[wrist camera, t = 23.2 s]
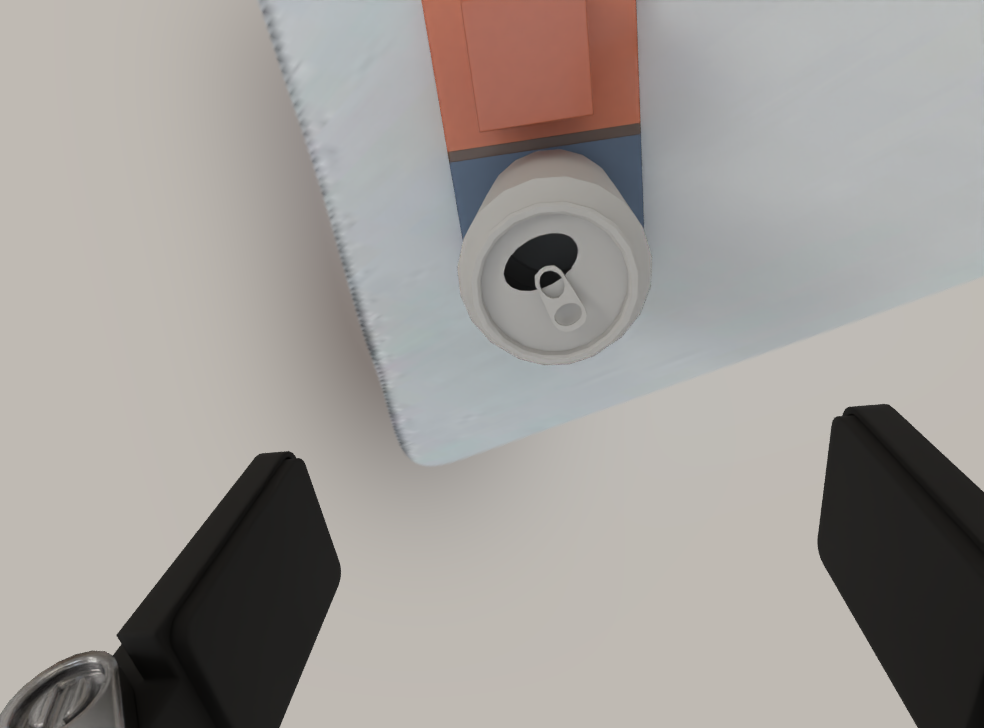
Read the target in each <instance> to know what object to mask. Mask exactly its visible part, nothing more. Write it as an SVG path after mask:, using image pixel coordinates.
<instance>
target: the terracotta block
mask: <svg viewBox="0 0 984 728" xmlns="http://www.w3.org/2000/svg"><path fill="white" fill-rule="evenodd" d="M460 6H461V13H462V20H463V27H464V34H465V40H466V47H467V54H468V61H469V67H470V74H471V81H472V88H473V95H474V101H475V108H476V115H477V122H478V129H479V132H480V133H482V132H489V131H495V130H502V129H508V128H515V127H521V126H527V125H534V124H540V123H547V122H553V121H560V120H566V119H573V118H579V117H585V116H592V115H594V105H593V90H592V75H591V60H590V45H589V30H588V15H587V0H461V1H460Z"/></svg>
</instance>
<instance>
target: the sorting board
mask: <svg viewBox="0 0 984 728" xmlns="http://www.w3.org/2000/svg"><path fill="white" fill-rule="evenodd" d="M460 1H461V0H422V5H423V11H424V17H425V23H426V29H427V35H428V40H429V46H430V52H431V58H432V64H433V70H434V75H435V81H436V87H437V93H438V99H439V105H440V110H441V116H442V122H443V128H444V134H445V140H446V145H447V151H448V157H449V163H450V169H451V175H452V180H453V186H454V192H455V198H456V204H457V210H458V215H459V221H460V227H461V233H462V239H464V237H465V235H466V233H467V231H468V229H469V227H470V226H471V224H472V222H473V220H474V218H475V216H476V214H477V212H478V211H479V209H480V207H481V205H482V203H483V201H484V199H485V197H486V195H487V194H488V192H489V190H490V189H491V187H492V185H493V184H494V182H495V180H496V179H497V177H498V175H499V174H500V173H502V172H503V171H504V170H505V169H506V168H507V167H508V166H510V165H511V164H512V163H513V162H514V161H515V160H517V159H519V158H522V157H524V156H526V155H529V154H531V153H534V152H536V151H542V150H556V149H562V150H566V151H570V152H573V153H577V154H581V155H584V156H585V157H587V158H588V159H590V160H591V161H592V162H594V163H595V164H597V165H598V166H600V167H601V168H602V169H603V170H604V171H605V173H606V174H607V175H608V177H609V178H610V180H611V181H612V182H613V184H614V185H615V186H616V188H617V189H618V191H619V192H620V194H621V195H622V197H623V198H624V200H625V201H626V203H627V204H628V206H629V207H630V209H631V210H632V212H633V213H634V215H635V216H636V218H637V219H638V221H639V222H640V224H641V225H642V227H643V229H644V215H643V186H642V157H641V128H640V100H639V71H638V42H637V14H636V0H587V15H588V30H589V45H590V60H591V75H592V90H593V105H594V115H592V116H585V117H579V118H573V119H566V120H560V121H553V122H547V123H540V124H534V125H527V126H521V127H515V128H508V129H502V130H495V131H489V132H482V133H480V132H479V129H478V122H477V115H476V108H475V101H474V95H473V88H472V81H471V74H470V67H469V61H468V54H467V47H466V40H465V34H464V27H463V20H462V13H461V6H460Z"/></svg>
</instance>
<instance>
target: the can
mask: <svg viewBox="0 0 984 728" xmlns="http://www.w3.org/2000/svg"><path fill="white" fill-rule="evenodd" d="M651 267H652V255H651V252H650V249H649V246H648V242H647V239H646V236H645V232H644V229H643V227H642V225H641V224H640V222H639V221H638V219H637V218H636V216H635V215H634V213H633V212H632V210H631V209H630V207H629V206H628V204H627V203H626V201H625V200H624V198H623V197H622V195H621V194H620V192H619V191H618V189H617V188H616V186H615V185H614V184H613V182H612V181H611V180H610V178H609V177H608V175H607V174H606V173H605V171H604V170H603V169H602V168H601V167H600V166H598V165H597V164H595V163H594V162H592V161H591V160H590V159H588V158H587V157H585V156H584V155H581V154H577V153H573V152H570V151H566V150H562V149H556V150H542V151H536V152H534V153H531V154H529V155H526V156H524V157H522V158H519V159H517V160H515V161H514V162H513V163H512V164H511V165H510V166H508V167H507V168H506V169H505V170H504V171H503V172H502V173H500V174H499V175H498V177H497V179H496V180H495V182H494V184H493V185H492V187H491V189H490V190H489V192H488V194H487V195H486V197H485V199H484V201H483V203H482V205H481V207H480V209H479V211H478V212H477V214H476V216H475V218H474V220H473V222H472V224H471V226H470V227H469V229H468V231H467V233H466V235H465V237H464V239H463V244H462V248H461V253H460V258H459V262H458V267H457V268H458V277H459V286H460V296H461V298H462V300H463V302H464V305H465V307H466V309H467V311H468V313H469V316H470V318H471V320H472V322H473V323H474V324H475V325H476V326H477V327H478V328H479V330H480V331H481V332H482V333H483V334H484V335H485V336H486V337H487V338H488V339H489V341H490V342H492V343H493V344H495V345H497V346H498V347H500V348H502V349H503V350H505V351H507V352H508V353H510V354H512V355H513V356H515V357H517V358H519V359H522V360H526V361H529V362H533V363H537V364H541V365H562V364H571V363H574V362H578V361H581V360H584V359H587V358H590V357H593V356H595V355H596V354H598V353H599V352H601V351H602V350H603V349H605V348H606V347H608V346H609V345H611V344H612V343H614V342H615V341H617V340H618V339H620V338H621V337H622V336H623V335H624V334H625V332H626V331H627V330H628V329H629V327H630V326H631V325H632V324H633V322H634V321H635V320H636V319H637V317H638V316H639V315H640V313H641V310H642V308H643V305H644V303H645V300H646V297H647V295H648V292H649V290H650V287H651Z"/></svg>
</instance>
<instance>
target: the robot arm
mask: <svg viewBox="0 0 984 728" xmlns="http://www.w3.org/2000/svg"><path fill="white" fill-rule="evenodd" d="M818 550H819V555H820V558H821V560H822V562H823V564H824V566H825V568H826V570H827V571H828V573H829V575H830V576H831V578H832V580H833V582H834V583H835V585H836V587H837V589H838V590H839V592H840V594H841V596H842V597H843V599H844V601H845V602H846V604H847V606H848V608H849V609H850V611H851V613H852V615H853V616H854V618H855V620H856V621H857V623H858V625H859V627H860V628H861V630H862V632H863V634H864V635H865V637H866V639H867V641H868V642H869V644H870V646H871V647H872V649H873V651H874V652H875V654H876V656H877V658H878V660H879V661H880V663H881V665H882V666H883V668H884V670H885V672H886V673H887V675H888V677H889V678H890V680H891V682H892V684H893V686H894V687H895V689H896V691H897V692H898V694H899V696H900V697H901V699H902V701H903V703H904V704H905V706H906V708H907V710H908V711H909V713H910V715H911V717H912V718H913V720H914V722H915V724H916V725H917V727H918V728H984V492H983V491H982V490H981V489H980V488H979V487H978V486H976V485H975V484H974V483H973V482H972V481H971V480H970V479H969V478H968V477H967V476H966V475H965V474H964V473H963V472H961V471H960V470H959V469H958V468H957V467H956V466H955V465H954V464H953V463H952V462H951V461H950V460H949V459H948V458H946V457H945V456H944V455H943V454H942V453H941V452H940V451H939V450H938V449H937V448H936V447H935V446H933V445H932V444H931V443H930V442H929V441H928V440H927V439H926V438H925V437H924V436H923V435H922V434H921V433H920V432H918V431H917V430H916V429H915V428H914V427H913V426H912V425H911V424H910V423H909V422H908V421H907V420H906V419H904V418H903V417H902V416H901V415H900V414H899V413H898V412H897V411H896V410H895V409H894V408H892V407H891V406H890V405H887V404H880V405H866V406H855V407H848V408H846V409H845V411H844V413H843V416H838V417H836V418H834V420H833V422H832V427H831V435H830V443H829V451H828V459H827V468H826V476H825V483H824V491H823V500H822V508H821V516H820V525H819V532H818ZM340 577H341V568H340V563H339V560H338V557H337V554H336V551H335V548H334V545H333V543H332V540H331V537H330V534H329V531H328V528H327V525H326V522H325V520H324V517H323V514H322V511H321V508H320V505H319V502H318V499H317V497H316V494H315V491H314V488H313V485H312V482H311V479H310V476H309V474H308V471H307V468H306V465H305V463H304V461H303V460H302V459H300V458H296V457H295V455H294V454H293V453H291V452H289V451H288V452H274V453H262V454H259V455H258V456H256V457H255V458H254V460H253V461H252V462H251V464H250V465H249V466H248V468H247V469H246V470H245V471H244V473H243V474H242V475H241V476H240V478H239V479H238V480H237V481H236V483H235V484H234V485H233V487H232V488H231V489H230V490H229V492H228V493H227V494H226V496H225V497H224V498H223V500H222V501H221V502H220V503H219V504H218V506H217V507H216V508H215V510H214V511H213V512H212V513H211V515H210V516H209V517H208V519H207V520H206V521H205V522H204V524H203V525H202V526H201V528H200V529H199V530H198V531H197V533H196V534H195V535H194V537H193V538H192V539H191V540H190V542H189V543H188V544H187V545H186V547H185V548H184V549H183V551H182V552H181V553H180V554H179V556H178V557H177V558H176V560H175V561H174V562H173V563H172V565H171V566H170V567H169V568H168V570H167V571H166V572H165V574H164V575H163V576H162V578H161V579H160V580H159V581H158V583H157V584H156V585H155V587H154V588H153V589H152V590H151V592H150V593H149V594H148V595H147V597H146V598H145V599H144V600H143V602H142V603H141V604H140V606H139V607H138V608H137V609H136V611H135V612H134V613H133V615H132V616H131V617H130V618H129V620H128V621H127V622H126V624H125V625H124V626H123V628H122V629H121V630H120V631H119V633H118V634H117V637H118V639H119V640H120V642H121V646H120V647H119V648H118V650H117V651H116V652H115V654H114V655H113V656H112V655H110V654H109V653H107V652H105V651H89V652H84V653H80V654H76V655H73V656H71V657H69V658H66V659H64V660H62V661H59V662H57V663H56V664H54V665H53V666H51V667H49V668H48V669H46V670H44V671H43V672H41V673H40V674H38V675H37V676H36V677H35V678H33V679H32V680H31V681H30V682H28V683H27V684H26V685H25V686H23V687H22V689H20V691H19V692H18V693H17V694H16V695H15V696H14V697H13V698H12V699H11V700H10V701H9V702H8V704H7V705H6V707H5V708H4V710H3V711H2V713H1V714H0V728H279V727H280V725H281V722H282V720H283V718H284V715H285V713H286V710H287V708H288V705H289V703H290V701H291V698H292V696H293V693H294V691H295V688H296V686H297V684H298V682H299V679H300V677H301V674H302V671H303V669H304V667H305V664H306V662H307V660H308V657H309V655H310V653H311V650H312V648H313V645H314V643H315V641H316V638H317V636H318V633H319V631H320V628H321V626H322V624H323V621H324V619H325V617H326V614H327V612H328V609H329V607H330V604H331V602H332V600H333V597H334V595H335V592H336V590H337V588H338V585H339V582H340Z"/></svg>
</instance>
